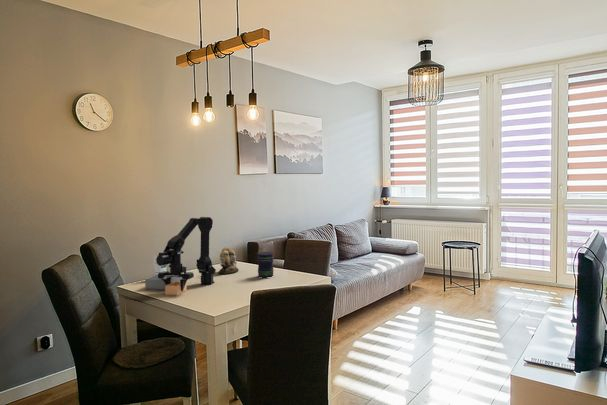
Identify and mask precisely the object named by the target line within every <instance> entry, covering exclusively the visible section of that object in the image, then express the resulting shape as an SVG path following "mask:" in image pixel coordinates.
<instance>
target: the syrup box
mask: <svg viewBox="0 0 607 405" xmlns="http://www.w3.org/2000/svg"><path fill="white" fill-rule="evenodd" d="M156 259H157V256H154V257H153V265H154V268H153V270H154V275H157V274H159V273H160V272H163V271H169V269H168V268H169V265H168V264H166V265H162V266H159V265H158V264H157V262H156Z"/></svg>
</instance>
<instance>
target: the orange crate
mask: <svg viewBox="0 0 607 405" xmlns="http://www.w3.org/2000/svg"><path fill="white" fill-rule="evenodd" d="M187 288H188V287H187V283H186V284H185V287H184V290H183V291H181V284H180V282H178V281H175V282H172V283H170V284H168V285H166V286H165V290H164V291H165V293H164V295H166V296H179V295H181V294H183V293H186V292H187Z"/></svg>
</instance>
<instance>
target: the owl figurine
mask: <svg viewBox="0 0 607 405" xmlns="http://www.w3.org/2000/svg"><path fill="white" fill-rule="evenodd" d="M236 257H237V256H236V253H235V251H234V250H233V249H231V248H230V247H228V246H225V247H223V248H222V249H221V252H220V255H219V258H220V259H219V260H220V262H221V263H220V266H221V268H220V269H219V270H218V274H219V275H232V274H236V273H238V272H239V268H238V267H237V261H236Z"/></svg>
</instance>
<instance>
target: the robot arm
mask: <svg viewBox="0 0 607 405" xmlns="http://www.w3.org/2000/svg"><path fill="white" fill-rule="evenodd" d="M213 223H214V219H213V218H212V217H210V216H200V217H199V218H198V217H191V218H189V220H188V222H187V223H186V224H185V225H184V226H183V228H182V229H181V230H180V231H179V233H177V235H174V236H172V237H171V238H170V239H169V240H168V241H167V243H166V246H165V248H164V249H163V252H158V255H157V256H156V257H157V259H156V262H157V264H158V265H159V266H162V265H166V264H167V265H168V268H169V270H168V271H163V272H160V273H159V274H158V278H162V280H163V281H164V282H165V284H166V285H168V284H170V283H171V277H182V279H181V280H180V284H181V291H183V290H184V287H185V284H186V285H187V281H188V280H190V279H193V278H194V277H195V276H194V275H195V274H194V272H193V271H192V272H191V271H187V268H188V267H187V266H183V263H182V262H181V260H182V259H181V258H182V256H181V254H185V253H184V251H183V250H182V248H183V247H184V246H185V241H186V239H187V238H188V236H189V235H190V234H191V233H192V232H193V231H194V229H195V228H196V227H197V226H198V229H199V232H200V254H199V259H196V269H197V271H198V273H199V274H200V275H201V276H200V282H199V285H205V286H206V285H207V286H208V285H209V286H210V285H213V284H215V281H214V274H216V271H217V269H216V268H215V267H214V266H213V262H212V259H211V258H210V232H211V230H212V228H213ZM181 273H183V274H181Z"/></svg>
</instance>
